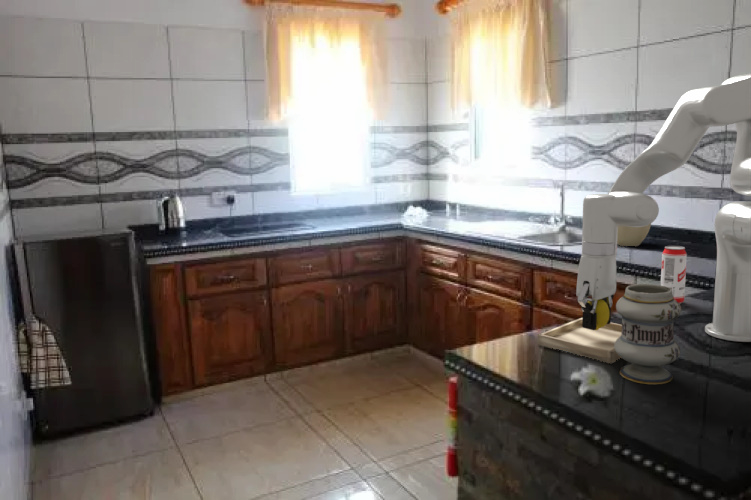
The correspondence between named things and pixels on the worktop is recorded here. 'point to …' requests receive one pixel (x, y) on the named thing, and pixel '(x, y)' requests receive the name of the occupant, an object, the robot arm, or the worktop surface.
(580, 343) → the birch tray
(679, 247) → the beer can
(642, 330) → the apothecary jar
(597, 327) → the lemon
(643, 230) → the beige bowl
